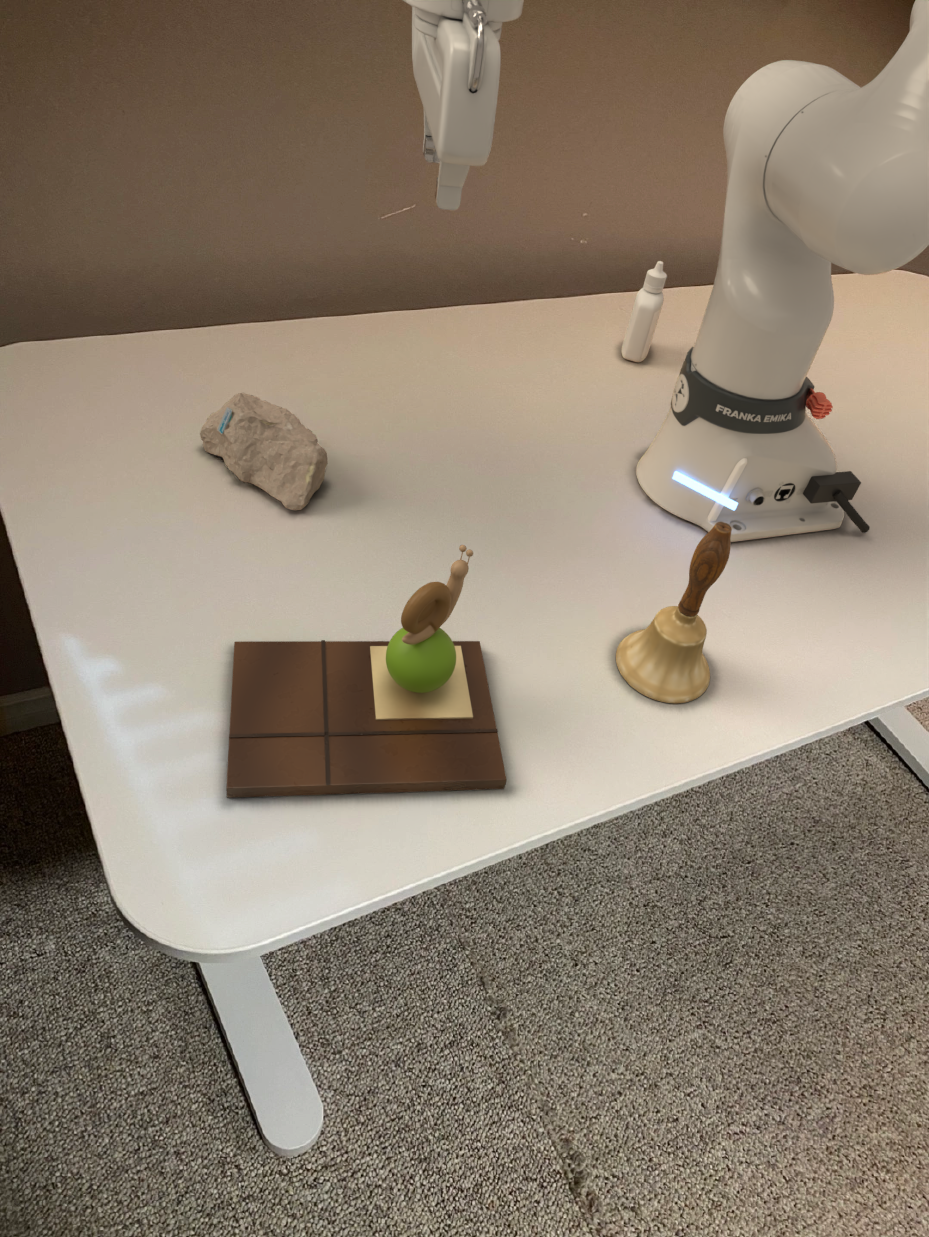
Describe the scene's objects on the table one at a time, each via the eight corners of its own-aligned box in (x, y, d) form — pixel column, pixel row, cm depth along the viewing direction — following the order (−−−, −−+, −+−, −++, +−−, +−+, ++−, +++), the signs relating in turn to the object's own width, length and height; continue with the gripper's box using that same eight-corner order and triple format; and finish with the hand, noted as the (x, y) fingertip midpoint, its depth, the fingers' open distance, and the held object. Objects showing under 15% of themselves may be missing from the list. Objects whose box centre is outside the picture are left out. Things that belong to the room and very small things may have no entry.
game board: (477, 650, 79) (480, 639, 78) (504, 789, 69) (507, 778, 68) (235, 651, 75) (234, 639, 74) (227, 798, 65) (226, 786, 64)
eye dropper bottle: (660, 354, 120) (688, 264, 112) (634, 366, 117) (660, 274, 109) (634, 339, 122) (660, 250, 114) (607, 350, 119) (632, 259, 111)
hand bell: (724, 700, 79) (797, 559, 67) (633, 707, 77) (693, 564, 65) (688, 629, 84) (750, 488, 73) (602, 634, 82) (653, 490, 71)
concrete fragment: (283, 521, 87) (283, 468, 83) (193, 449, 93) (188, 396, 89) (340, 493, 91) (343, 441, 87) (250, 426, 97) (249, 374, 93)
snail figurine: (473, 676, 75) (497, 565, 66) (418, 718, 71) (437, 607, 62) (424, 639, 77) (441, 527, 68) (368, 678, 73) (380, 565, 65)
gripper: (534, 22, 58) (498, 241, 68) (486, -49, 72) (462, 141, 82) (434, 10, 57) (412, 234, 66) (405, -60, 71) (390, 133, 80)
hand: (439, 182), depth 74 cm, fingers open, 8 cm apart
